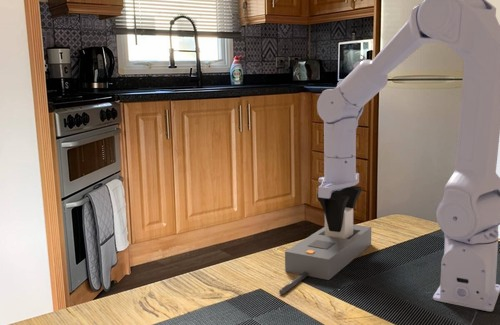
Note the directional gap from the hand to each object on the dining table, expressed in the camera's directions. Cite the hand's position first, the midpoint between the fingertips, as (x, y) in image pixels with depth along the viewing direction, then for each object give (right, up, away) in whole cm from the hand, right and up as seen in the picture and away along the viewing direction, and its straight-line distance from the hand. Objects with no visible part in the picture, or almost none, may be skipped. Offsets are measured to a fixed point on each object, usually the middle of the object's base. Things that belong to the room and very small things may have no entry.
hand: (339, 227), depth 95 cm
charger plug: (0, -2, 0) cm, 2 cm away
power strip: (-4, -6, -6) cm, 9 cm away
